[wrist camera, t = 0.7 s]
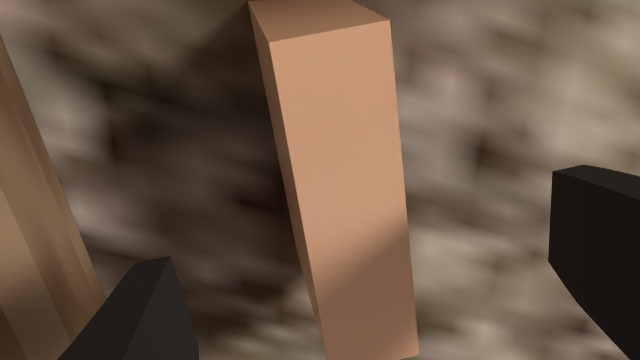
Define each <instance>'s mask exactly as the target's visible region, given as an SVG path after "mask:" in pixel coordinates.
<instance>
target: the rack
mask: <svg viewBox="0 0 640 360" xmlns="http://www.w3.org/2000/svg"><path fill="white" fill-rule="evenodd" d="M105 301H106V298H105V295H104V293H103V290H102V288H101V285H100V283H99V280H98V278H97V275H96V273H95V270H94V268H93V265H92V263H91V260H90V258H89V255H88V253H87V250H86V248H85V245H84V243H83V240H82V238H81V235H80V233H79V230H78V228H77V225H76V223H75V220H74V218H73V215H72V213H71V210H70V208H69V205H68V202H67V200H66V197H65V195H64V192H63V190H62V187H61V185H60V182H59V180H58V177H57V175H56V172H55V170H54V167H53V165H52V162H51V160H50V157H49V155H48V152H47V150H46V147H45V145H44V142H43V140H42V137H41V135H40V132H39V130H38V127H37V125H36V122H35V120H34V117H33V115H32V112H31V110H30V107H29V105H28V102H27V100H26V97H25V95H24V92H23V90H22V87H21V85H20V82H19V80H18V77H17V75H16V72H15V70H14V67H13V65H12V62H11V60H10V57H9V55H8V52H7V50H6V47H5V45H4V42H3V40H2V37H1V35H0V360H57V359H58V358H59V357H60V356H61V355H62V353H63V352H64V351H65V350H66V349H67V348H68V347H69V346H70V344H71V343H72V342H73V341H74V340H75V338H76V337H77V336H78V335H79V334H80V332H81V331H82V330H83V329H84V327H85V326H86V325H87V324H88V322H89V321H90V320H91V319H92V317H93V316H94V315H95V313H96V312H97V311H98V310H99V308H100V307H101V306H102V305H103V303H104V302H105Z"/></svg>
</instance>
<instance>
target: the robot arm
mask: <svg viewBox="0 0 640 360" xmlns="http://www.w3.org/2000/svg"><path fill="white" fill-rule="evenodd" d="M548 262H549V263H550V265H551V266H552V268H553V269H554V270H555V272H556V273H557V275H558V276H559V278H560V279H561V281H562V282H563V284H564V285H565V287H566V288H567V289H568V291H569V292H570V293H571V295H572V296H573V298H574V299H575V300H576V302H577V303H578V304H579V305H580V306H581V307H582V309H583V310H584V311H585V312H586V313H587V314H588V315H589V316H590V317H591V318H592V320H593V321H594V322H595V323H596V324H597V325H598V326H599V327H600V328H601V329H602V330H603V331H604V333H605V334H606V335H607V336H608V337H609V338H610V339H611V340H612V341H613V342H614V343H615V344H616V345H617V346H618V347H619V348H620V350H621V351H622V352H623V353H624V354H625V355H626V356H627V357H628V358H629V359H630V360H640V177H639V176H635V175H631V174H627V173H623V172H619V171H614V170H610V169H605V168H600V167H594V166H588V165H580V166H575V167H571V168H566V169H562V170H557V171H553V174H552V195H551V215H550V236H549V256H548ZM57 360H199V349H198V342H197V339H196V336H195V333H194V330H193V326H192V323H191V320H190V317H189V314H188V311H187V308H186V305H185V302H184V299H183V295H182V292H181V289H180V286H179V283H178V280H177V277H176V274H175V271H174V268H173V264H172V261H171V258H170V256H167V257H163V258H158V259H153V260H149V261H144V262H140V263H135V264H134V265H133V266H132V268H131V269H130V270H129V271H128V272H127V274H126V275H125V276H124V278H123V279H122V280H121V281H120V283H119V284H118V285H117V287H116V288H115V289H114V290H113V292H112V293H111V294H110V296H109V297H108V298H107V300H106V301H105V302H104V303H103V305H102V306H101V307H100V308H99V310H98V311H97V312H96V313H95V315H94V316H93V317H92V319H91V320H90V321H89V322H88V324H87V325H86V326H85V327H84V329H83V330H82V331H81V332H80V334H79V335H78V336H77V337H76V338H75V340H74V341H73V342H72V343H71V344H70V346H69V347H68V348H67V349H66V350H65V351H64V352H63V353H62V355H61V356H60V357H59V358H58V359H57Z"/></svg>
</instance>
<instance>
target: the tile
mask: <svg viewBox="0 0 640 360" xmlns="http://www.w3.org/2000/svg"><path fill="white" fill-rule="evenodd" d="M248 6H249V11H250V16H251V21H252V26H253V31H254V36H255V41H256V46H257V52H258V57H259V62H260V67H261V72H262V77H263V82H264V87H265V92H266V97H267V102H268V107H269V112H270V117H271V123H272V128H273V133H274V138H275V143H276V148H277V153H278V158H279V163H280V168H281V173H282V178H283V183H284V188H285V194H286V199H287V204H288V209H289V214H290V219H291V224H292V229H293V234H294V239H295V244H296V249H297V252H298V256H299V260H300V263H301V267H302V271H303V275H304V278H305V282H306V286H307V289H308V293H309V297H310V300H311V304H312V308H313V312H314V315H315V319H316V323H317V326H318V330H319V334H320V337H321V341H322V345H323V348H324V352H325V356H326V360H399V359H403V358H407V357H411V356H415V355H419V348H418V336H417V325H416V313H415V302H414V291H413V279H412V268H411V256H410V245H409V234H408V222H407V211H406V199H405V188H404V177H403V165H402V154H401V142H400V131H399V120H398V108H397V97H396V85H395V74H394V63H393V51H392V40H391V28H390V20H389V19H387V18H385V17H383V16H381V15H379V14H377V13H375V12H373V11H371V10H369V9H367V8H365V7H363V6H361V5H360V4H358V3H356V2H354V1H352V0H254V1H248Z"/></svg>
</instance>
